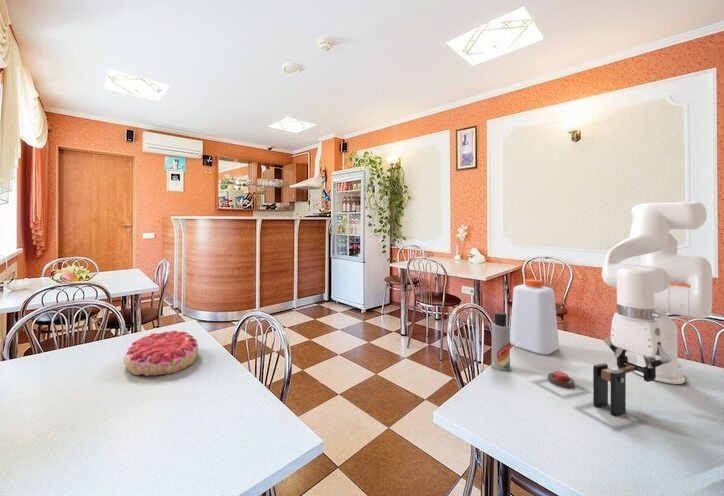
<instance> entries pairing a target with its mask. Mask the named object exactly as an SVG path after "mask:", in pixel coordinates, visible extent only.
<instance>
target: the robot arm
mask: <svg viewBox="0 0 724 496" xmlns="http://www.w3.org/2000/svg"><path fill="white" fill-rule="evenodd" d="M630 216H631V219H632V222H631V227H630V231H629V237H628V238H626V239H624V240H622V241H620V242H619V243H617V244H616V245H614V246H613V247H611V248H610V249H609V250H608V252H607V253H606V255H605V257H604V261H603V265H602V268H601V280H602V281H603V283H605V285H607V286H609V287H611V288H616V312H614V314H613V317H612V319H611V326H610V334H609V335H608V336H606V337H605V338H604V339H603V342H604V343H605V344H606V345H607V346H608V347H609V348H610V351H612V352H613V354H614V356H615V357H616V366H617V369H620V368H623V367H625V366H623V361H627V362H629V358H628V356H627V355H626V354H627V352H631V353H634V354H636V362H635V363H633V364H635V365H638V366H641V367H644V373H641V372H639V371H636V370H635V371H633V372H634V373H635V374H637V375H639V376H641V377H643V381H644V382H645V383H649V382H652V381H655V382H656V381H657V382H660V383H665V384H672V385H682V384H684V383H686V379H685V377H684V376H683V375H682V374H681V373H679V372H678V371H679V370H678V369H680V368H682V366H683V365H682V363H681V362H680V361H678V360H679V359H678V353H679V352H678V327H677V325H676V323H675V322H674V321H673V319H671V318H670V316H669V315H677V316H683V317H687V318H689V317H690V318H693V319H706V318H708V317H710V316H711V313H712V311H713V310H712V309H713V269H712V264H711V263H710V261H709V260H708V259H707V258H706V257H703V256H700V255H693V254H691V255H690V254H679V253H678V245H679V244H678V243H679V242H678V240H677V238H676V237H675V236H673V234H672V233H670V230H698V229H700V228H701V227H702V226H703V225H704V224H705V223H706V221H707V216H708V213H707V208H706V207H705V205H704V204H703V203H701V202H700V201H683V202H682V201H679V202H648V203H647V202H645V203H639V204H636V205H635V206H633V207H632V208H631V212H630ZM639 256H640V265H639V264H629V263H622V262H623V261H624V260H627V259H631V258H633V257H639ZM671 283H679V284H680V283H681V284H686V285H688V286H681V285H672V284H671ZM667 314H668V315H667Z"/></svg>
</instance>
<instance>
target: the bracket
mask: <svg viewBox="0 0 724 496" xmlns="http://www.w3.org/2000/svg"><path fill="white" fill-rule="evenodd" d="M592 366H593V367H592V368H593V372H592V381H593V383H592V385H593V389H592V390H593V391H592V393H593V394H592V398H593V399H592V400H593V401H592V403H593V407H595V408H597V409H599V408H602V407H603V408H604V407H605V406H609V381H607V380H604V379H602V378H601V370H602V369H606V368H609V365H608V364H607V363H598V364H593V365H592ZM610 374H611V382H610V415H611V416H613V417H616V418H617V417H619V416H623V415H626V414H627V412H626V411H627V409H626V408H627V403H626V402H627V401H626V400H627V397H626V396H627V394H626V393H627V392H626V388H627V387H626V386H627V384H626V382H627V381H626V380H627V379H626V377H627V373H626V372H625V371H623V370H619V371H614V372H610Z"/></svg>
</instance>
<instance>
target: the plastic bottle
mask: <svg viewBox="0 0 724 496" xmlns="http://www.w3.org/2000/svg"><path fill="white" fill-rule="evenodd" d="M555 296H556V295H555V290H554V289H553V288H552V287H549V286H544V285H543V281H542V280H540V279H534V278H526V279H525V280H524V283H522V284H519V285H516V286H514V287H513V290H512V305H511V317H510V345H512V346H513V347H516V348H518V349H521V350H525V351H527V352H531V353H534V354H539V355H548V356H549V355H551V354H553V353H554V352H556V351H557V350H559V349H560V343H559V342H560V341H559V332H558V331H559V330H558V318H557V309H556V298H555ZM519 342H520V343H519ZM518 343H519V344H518ZM516 344H518V345H517V346H515V345H516Z"/></svg>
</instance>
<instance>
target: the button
mask: <svg viewBox="0 0 724 496" xmlns="http://www.w3.org/2000/svg"><path fill="white" fill-rule="evenodd" d="M553 373H554V378H555V379H558V380H561V381H568V377H569V374H568V373H566V372H564V371H560V370H554V371H553Z"/></svg>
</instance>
